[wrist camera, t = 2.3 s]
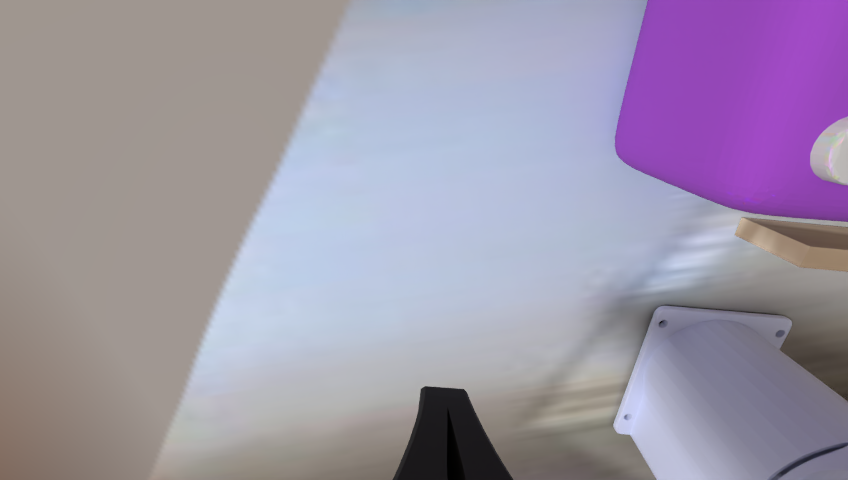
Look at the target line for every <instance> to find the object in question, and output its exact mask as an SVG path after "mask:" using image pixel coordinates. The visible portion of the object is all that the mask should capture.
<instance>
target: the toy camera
mask: <svg viewBox="0 0 848 480" xmlns="http://www.w3.org/2000/svg"><path fill="white" fill-rule="evenodd" d="M615 148H616V153H617V155H618V156H619V158H620V159H621V160H622V161H623V162H624V163H626V164H627V165H629V166H631V167H632V168H634V169H636V170H639V171H641V172H643V173H645V174H647V175H650V176H652V177H654V178H657V179H659V180H662V181H664V182H666V183H669V184H671V185H674V186H676V187H678V188H681V189H683V190H685V191H688V192H690V193H693V194H695V195H697V196H700V197H702V198H705V199H707V200H710V201H713V202H715V203H718V204H721V205H723V206H726V207H729V208H732V209H737V210H741V211H745V212H749V213H756V214H763V215H771V216H782V217H792V218H804V219H818V220H831V221H845V222H848V0H648V2H647V6H646V10H645V14H644V18H643V22H642V26H641V30H640V34H639V38H638V42H637V46H636V50H635V54H634V58H633V62H632V66H631V70H630V74H629V78H628V82H627V86H626V90H625V94H624V98H623V102H622V107H621V111H620V115H619V120H618V124H617V130H616V136H615Z"/></svg>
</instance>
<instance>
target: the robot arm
mask: <svg viewBox="0 0 848 480" xmlns="http://www.w3.org/2000/svg"><path fill="white" fill-rule="evenodd" d="M662 320H664V321H663V322H662V323H661V324H659V322H660V321H662ZM791 327H792V321H791V320H790V319H789V318H787V317H785V316H781V315H769V314H757V313H745V312H733V311H722V310H710V309H698V308H686V307H675V306H661V307H658V308H657V309H656V310H655V312H654V314H653V317H652V320H651V322H650V325H649V328H648V331H647V333H646V336H645V339H644V342H643V344H642V347H641V350H640V353H639V355H638V358H637V361H636V364H635V366H634V369H633V372H632V375H631V377H630V380H629V383H628V386H627V388H626V391H625V394H624V397H623V399H622V402H621V405H620V408H619V410H618V413H617V416H616V419H615V421H614V425H613V426H614V429H615V430H616V432H617V433H619V434H629V435H631V437H632V438H633V440H634V442H635V444H636V445H637V447H638V449H639V450H640V452H641V454H642V455H643V457H644V459H645V461H646V462H647V464H648V466H649V467H650V469H651V471H652V472H653V474H654V476H655V477H656V479H657V480H848V401H847V400H845V399H844V398H843V397H841V396H840V395H839V394H837V393H836V392H835V391H833V390H832V389H831V388H829V387H828V386H827V385H825V384H824V383H823V382H821V381H820V380H819V379H817V378H816V377H815V376H813V375H812V374H811V373H810V372H808V371H807V370H806V369H804V368H803V367H802V366H800V365H799V364H798V363H796V362H795V361H794V360H792V359H791V358H790V357H788V356H787V355H786V354H784V353H783V352H782V351H780V348H781V346H782V344H783V342H784V340H785V338H786V337H787V335H788V333H789V331H790V329H791ZM777 331H778V332H777ZM626 414H627V415H626ZM393 480H513V478H512V477H511V475H510V474H509V472H508V471H507V469H506V467H505V466H504V464H503V463H502V461H501V459H500V458H499V456H498V454H497V453H496V451H495V449H494V447H493V445H492V444H491V442H490V440H489V438H488V437H487V435H486V433H485V431H484V429H483V427H482V425H481V423H480V421H479V419H478V417H477V415H476V413H475V411H474V409H473V406H472V404H471V402H470V399H469V397H468V394H467V392H466V391H465V390H464V389H454V388H440V387H427V386H425V387H423V388H422V389H421V393H420V401H419V409H418V414H417V418H416V422H415V425H414V428H413V431H412V434H411V437H410V440H409V443H408V446H407V448H406V450H405V453H404V455H403V458H402V460H401V463H400V465H399V467H398V470H397V472H396V474H395V476H394V478H393Z"/></svg>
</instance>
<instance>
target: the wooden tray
mask: <svg viewBox="0 0 848 480" xmlns="http://www.w3.org/2000/svg"><path fill="white" fill-rule="evenodd" d="M735 235H736V236H738V237H740V238H742V239H744V240H746V241H748V242H750V243H752V244H754V245H756V246H758V247H760V248H762V249H764V250H766V251H768V252H770V253H772V254H774V255H776V256H778V257H780V258H782V259H784V260H786V261H788V262H790V263H792V264H795V265H797V266H799V267H803V268H814V269H825V270H836V271H847V272H848V227H838V226H827V225H817V224H806V223H796V222H786V221H775V220H765V219H754V218H744V217H742V218H741V221H740V223H739V226H738V228H737V230H736V233H735Z"/></svg>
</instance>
